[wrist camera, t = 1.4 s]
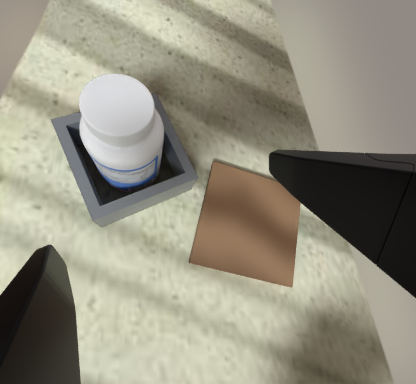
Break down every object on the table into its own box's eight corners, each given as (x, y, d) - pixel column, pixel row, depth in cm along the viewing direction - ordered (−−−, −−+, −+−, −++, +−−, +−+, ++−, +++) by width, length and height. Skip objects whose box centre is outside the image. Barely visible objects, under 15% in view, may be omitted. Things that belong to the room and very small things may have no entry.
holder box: (191, 189, 23) (198, 177, 20) (101, 227, 20) (92, 220, 17) (154, 115, 24) (155, 92, 21) (65, 141, 21) (50, 119, 18)
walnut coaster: (288, 286, 23) (292, 287, 22) (188, 262, 21) (189, 262, 21) (298, 190, 26) (301, 189, 25) (212, 163, 24) (213, 161, 24)
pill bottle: (113, 131, 23) (91, 46, 14) (167, 151, 24) (180, 83, 14) (89, 182, 21) (44, 122, 12) (148, 202, 22) (148, 160, 13)
